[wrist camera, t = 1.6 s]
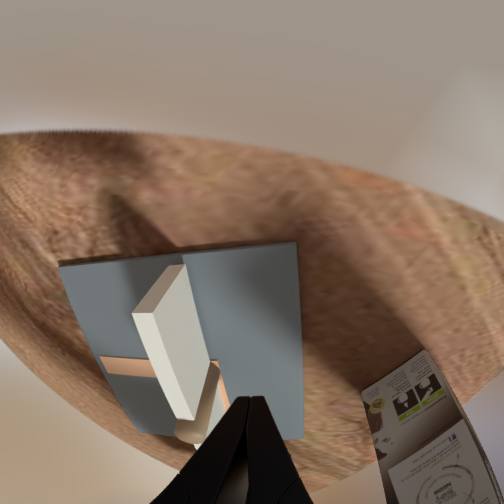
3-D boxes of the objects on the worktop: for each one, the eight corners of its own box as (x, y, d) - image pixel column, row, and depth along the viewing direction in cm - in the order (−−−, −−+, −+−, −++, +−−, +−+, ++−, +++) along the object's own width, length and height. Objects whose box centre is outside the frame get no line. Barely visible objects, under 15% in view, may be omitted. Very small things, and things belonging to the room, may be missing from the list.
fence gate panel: (210, 361, 18) (194, 420, 13) (195, 361, 18) (176, 419, 13) (185, 263, 16) (152, 312, 11) (168, 265, 16) (131, 313, 11)
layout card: (303, 434, 22) (303, 438, 21) (139, 428, 23) (138, 432, 23) (295, 241, 16) (296, 244, 15) (60, 265, 17) (56, 267, 17)
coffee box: (356, 393, 20) (393, 584, 4) (425, 345, 18) (512, 531, 3) (399, 428, 21) (434, 565, 6) (454, 391, 20) (512, 524, 4)
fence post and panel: (240, 438, 22) (233, 492, 16) (220, 437, 22) (210, 490, 16) (217, 360, 18) (201, 428, 13) (192, 360, 19) (169, 426, 13)
